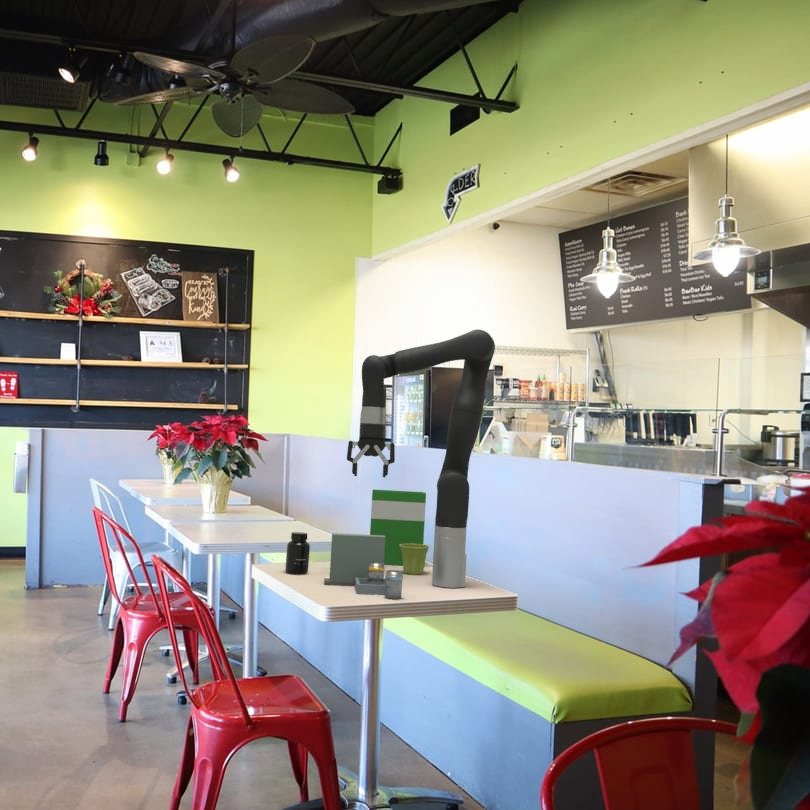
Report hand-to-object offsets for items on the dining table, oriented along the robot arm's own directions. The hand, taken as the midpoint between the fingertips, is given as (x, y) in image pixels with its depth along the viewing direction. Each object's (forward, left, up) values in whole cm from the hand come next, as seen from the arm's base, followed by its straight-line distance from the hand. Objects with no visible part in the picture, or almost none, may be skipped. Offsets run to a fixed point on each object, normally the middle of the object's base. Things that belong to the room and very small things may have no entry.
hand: (369, 476), depth 274 cm
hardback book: (-12, -30, -30) cm, 44 cm away
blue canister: (-6, +31, -30) cm, 43 cm away
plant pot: (-16, -12, -30) cm, 36 cm away
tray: (-2, +21, -30) cm, 37 cm away
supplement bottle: (+20, -4, -30) cm, 37 cm away
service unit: (+3, +12, -30) cm, 33 cm away
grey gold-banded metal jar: (-2, +21, -30) cm, 36 cm away
